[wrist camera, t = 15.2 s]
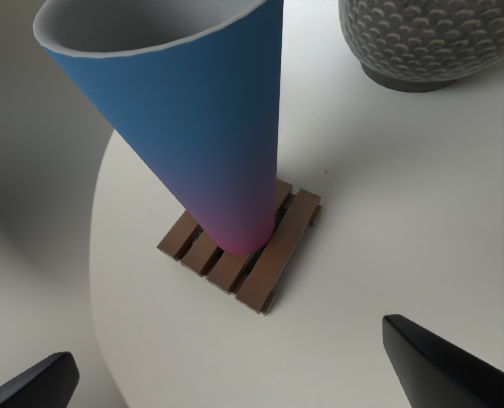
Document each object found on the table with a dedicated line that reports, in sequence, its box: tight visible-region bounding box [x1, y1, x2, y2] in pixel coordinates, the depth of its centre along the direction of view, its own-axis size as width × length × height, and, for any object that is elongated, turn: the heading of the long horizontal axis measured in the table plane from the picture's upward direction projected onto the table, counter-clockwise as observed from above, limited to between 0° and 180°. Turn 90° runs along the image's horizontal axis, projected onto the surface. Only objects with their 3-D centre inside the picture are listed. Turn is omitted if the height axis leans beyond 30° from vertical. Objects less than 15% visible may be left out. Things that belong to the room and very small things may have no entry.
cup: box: [33, 0, 284, 255], centre depth 13 cm, size 7×7×15 cm
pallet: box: [157, 179, 322, 316], centre depth 21 cm, size 10×10×2 cm
